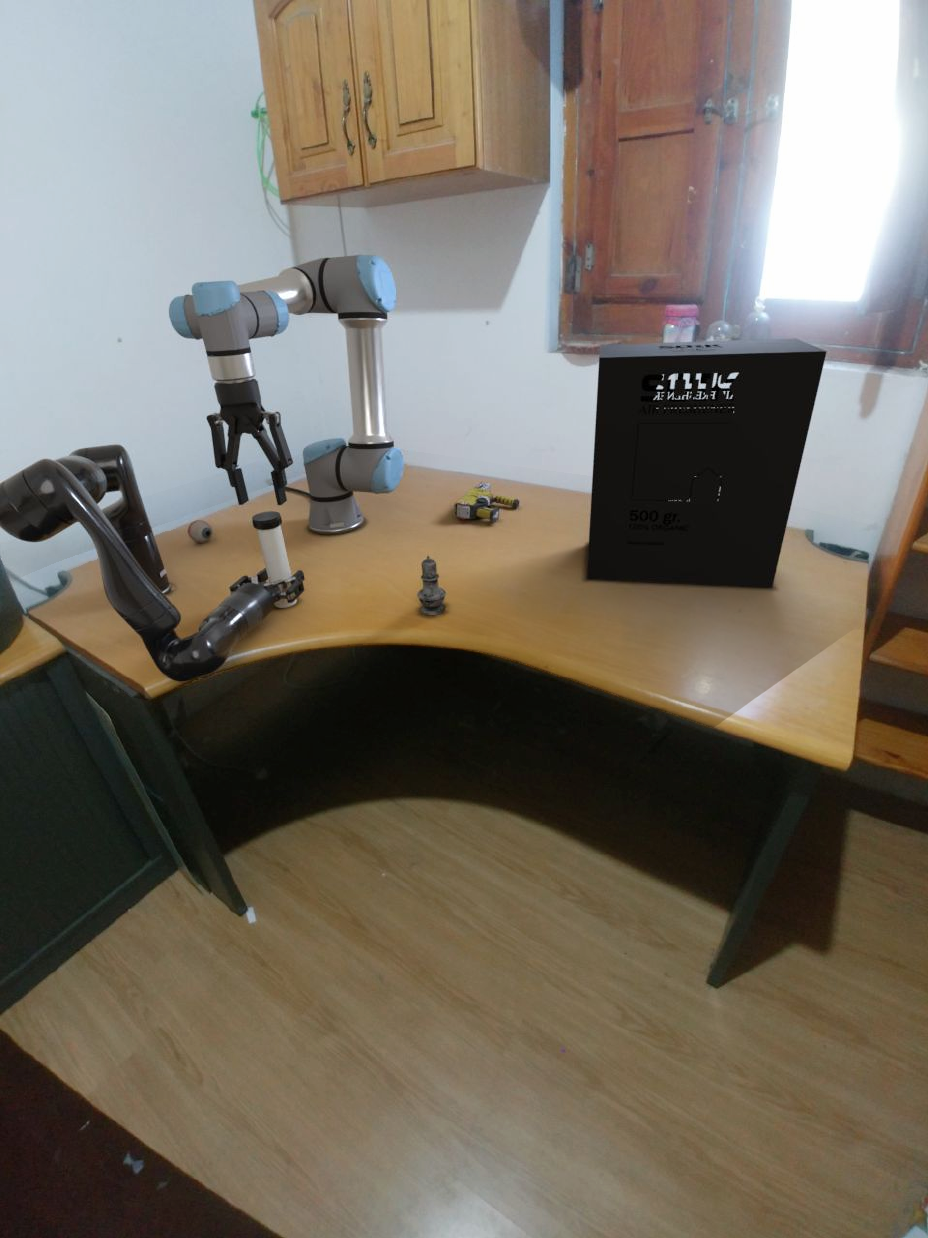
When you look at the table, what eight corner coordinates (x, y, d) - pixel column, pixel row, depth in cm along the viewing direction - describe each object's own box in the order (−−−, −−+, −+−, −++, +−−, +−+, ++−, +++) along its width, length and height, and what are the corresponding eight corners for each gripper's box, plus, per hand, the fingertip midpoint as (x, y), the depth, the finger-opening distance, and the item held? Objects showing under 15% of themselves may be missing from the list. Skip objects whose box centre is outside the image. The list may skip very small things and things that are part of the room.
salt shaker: (443, 616, 121) (439, 562, 115) (415, 615, 122) (409, 561, 116) (449, 602, 126) (446, 549, 120) (422, 601, 127) (417, 548, 121)
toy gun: (527, 487, 180) (480, 479, 184) (505, 511, 160) (452, 502, 164) (526, 502, 182) (479, 494, 186) (504, 527, 162) (452, 519, 166)
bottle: (287, 595, 133) (268, 512, 124) (301, 600, 131) (283, 516, 121) (270, 604, 130) (249, 519, 120) (284, 609, 127) (264, 523, 118)
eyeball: (201, 547, 160) (195, 526, 157) (186, 543, 163) (180, 522, 160) (220, 539, 164) (214, 518, 161) (205, 536, 167) (199, 515, 164)
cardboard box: (752, 548, 142) (795, 338, 119) (772, 587, 124) (826, 351, 102) (589, 543, 149) (600, 344, 127) (586, 579, 132) (599, 357, 110)
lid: (270, 517, 125) (268, 509, 124) (288, 522, 122) (286, 513, 121) (248, 526, 121) (245, 518, 120) (265, 531, 118) (263, 522, 117)
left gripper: (273, 595, 112) (312, 558, 126) (205, 590, 115) (250, 555, 129) (281, 629, 116) (318, 590, 129) (215, 624, 119) (258, 586, 133)
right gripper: (297, 374, 109) (318, 496, 120) (194, 377, 113) (225, 496, 124) (279, 381, 103) (303, 509, 114) (171, 384, 106) (206, 508, 118)
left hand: (284, 573), depth 129 cm, fingers open, 7 cm apart
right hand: (263, 502), depth 119 cm, fingers open, 7 cm apart
